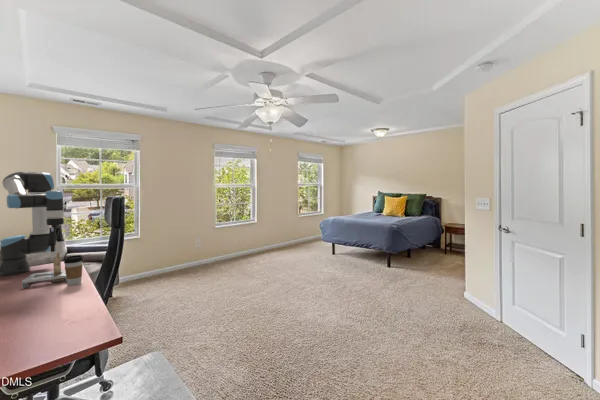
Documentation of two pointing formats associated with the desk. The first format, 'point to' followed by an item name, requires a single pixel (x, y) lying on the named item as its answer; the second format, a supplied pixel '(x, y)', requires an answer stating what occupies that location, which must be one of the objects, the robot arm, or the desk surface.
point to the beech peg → (57, 267)
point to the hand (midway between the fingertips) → (56, 255)
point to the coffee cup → (73, 269)
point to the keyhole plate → (46, 277)
